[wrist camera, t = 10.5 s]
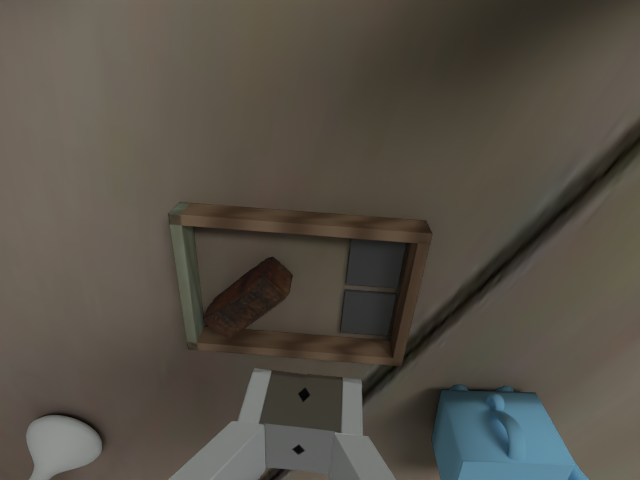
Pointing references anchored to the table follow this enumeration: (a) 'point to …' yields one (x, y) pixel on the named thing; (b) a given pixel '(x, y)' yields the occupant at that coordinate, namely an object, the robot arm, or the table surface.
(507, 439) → the teapot
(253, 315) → the brick
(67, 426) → the flower in vase
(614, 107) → the table surface
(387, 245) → the trap pits
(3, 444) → the table surface
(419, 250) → the box
